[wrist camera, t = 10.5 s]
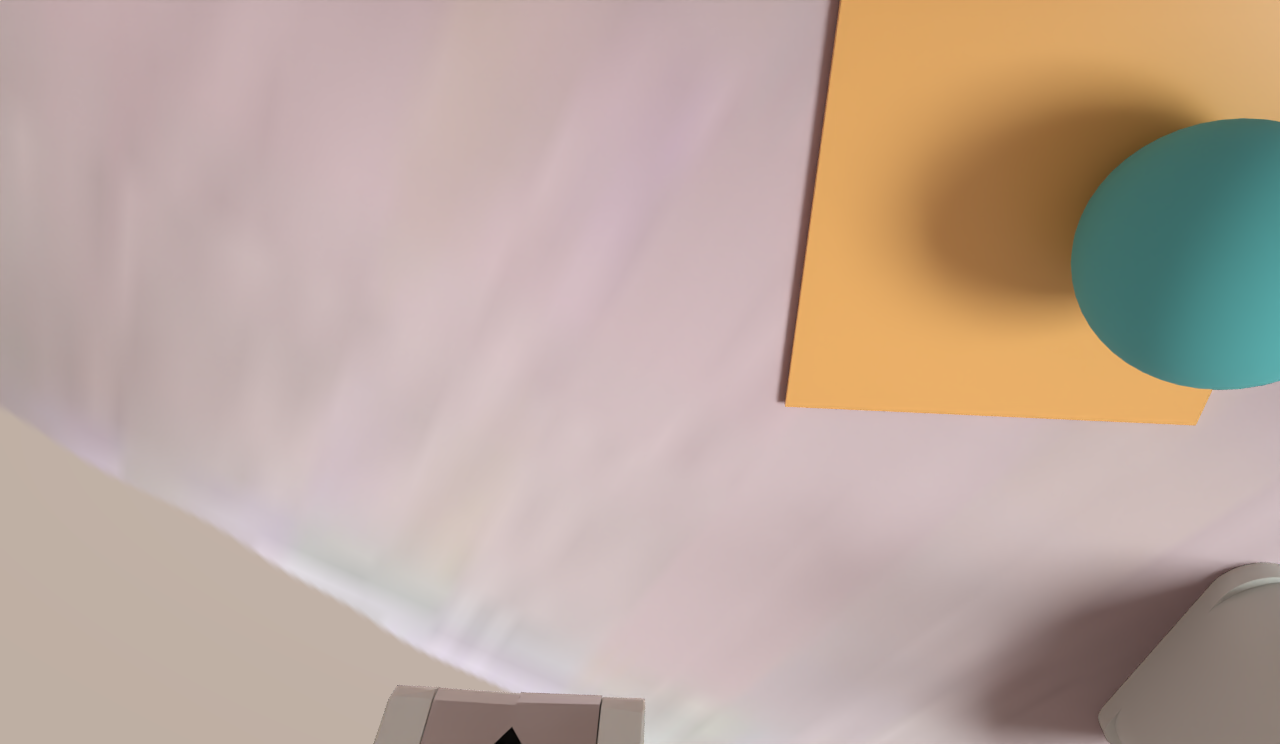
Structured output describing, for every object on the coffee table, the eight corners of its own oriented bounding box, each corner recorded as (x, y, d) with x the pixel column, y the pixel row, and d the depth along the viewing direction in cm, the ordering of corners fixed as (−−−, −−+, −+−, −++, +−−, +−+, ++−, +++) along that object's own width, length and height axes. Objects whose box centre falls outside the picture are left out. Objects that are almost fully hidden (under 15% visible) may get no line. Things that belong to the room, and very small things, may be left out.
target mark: (1397, -16, 19) (1403, -14, 19) (1192, 421, 26) (1195, 425, 26) (844, -32, 20) (845, -30, 19) (784, 402, 26) (785, 406, 26)
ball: (1466, 180, 15) (1069, 174, 17) (1369, 465, 18) (1045, 419, 21) (1407, 79, 19) (1097, 87, 22) (1337, 322, 22) (1073, 301, 25)
